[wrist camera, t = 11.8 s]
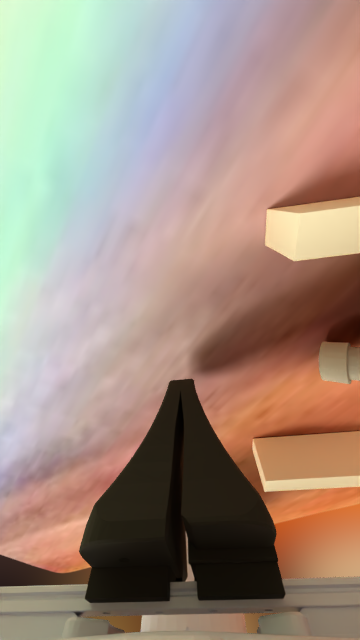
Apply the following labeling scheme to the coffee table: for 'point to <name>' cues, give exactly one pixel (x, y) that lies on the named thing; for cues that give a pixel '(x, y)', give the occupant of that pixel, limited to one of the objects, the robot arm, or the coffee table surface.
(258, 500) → the robot arm
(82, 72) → the coffee table surface
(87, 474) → the coffee table surface
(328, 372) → the showerhead
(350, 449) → the dock
